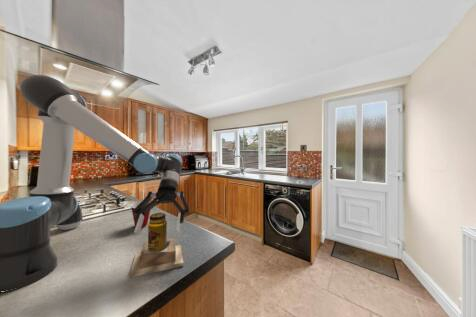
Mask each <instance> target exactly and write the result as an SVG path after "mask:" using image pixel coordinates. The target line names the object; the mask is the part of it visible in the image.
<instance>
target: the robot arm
mask: <svg viewBox="0 0 476 317" xmlns="http://www.w3.org/2000/svg"><path fill="white" fill-rule="evenodd" d="M19 92H20V94H21V97H22V98H23V99H24V101H26V102H27V103H28V104H29V105H31V106H33V107H34V108H36V109H37V110H38V112H37V118H38V119H39V120H40V121H41V122H42V133H41V144H40V151H39V152H40V154H39V162H38V170H37V171H38V172H37V181H36V182H37V183H36V187H34V188H33V189H31V190H30V191H29V195H28V196H26V197H20V198H16V199H10V200H7V201H4V202H1V203H0V292H1V291H6V290H10V291H12V290H11V289H14V290H16V289H15V288H17V289H20V288H22V286H23V287H25V286H27V285H30V284H32V283H34V282H37V281H39V280H42V278H44V277H46V276H48V275H49V274H51V273H52V272H53V271H54V270H55V269H56V268H57V266H58V257H57V255H56V253H55V251H54V249H53V247H52V246H51V243H50V242H51V229H52V228H54V227H56V225H57V224H59V223H61V222H63V221H65V220H67V219H68V218H69V217H70V216H71V215H73V213H74V212H75V211H76V209H77V206H78V204H79V203H78V202H79V200H78V199H77V197H76V196H74V195H75V189H74V187H71V185H70V184H71V173H72V164H73V163H72V162H73V153H74V143H75V134H76V133H75V132H76V130H77V131H78V132H80V133H82V134H83V135H85V136H86V137H88V138H89V139H91V140H92V141H94V142H96V143H97V144H98V145H100V146H102V147H104V148H105V149H106V150H108V151H110V152H111V153H113V154H114V155H115V156H117V157H119V158H120V159H122V160H123V161H124V162H127V163H128V164H129V165H130V166H133V167H134V169H135V170H136V171H137V172H138V173H141V174H150V173H153V172H156V173H160V174H162V175H161V178H160V182H159V184H158V187H157V191H156V192H152V191H151V190H150V191H148V193H147V195H146V197H144V198H143V200H142V201H140V202H141V203H140V204H139V205H138V206H137V207H136V208H135V209H134V210H133V213H134V214H135V215H137V217H136V220H135V224H136V227H135V228H134V230H133V231H134V234H135V235H136V236H139V235H140V232H141V230H142V228H143V227H142V223H143V220H144V216H143V215H145V214H146V213H147V212H148V211H150V212H151V210H152V209H154V207H156V206H158V205H160V204H168V205H169V204H170V203H171V204H172V205H173V206H174V207H175V209H176V210H177V211H178V215H177V221H176V226H175V232H176V234H180V229H181V224H184V221H185V220H184V219H185V215H189V214H190V212H191V211H190V207H189V206H188V204H187V201H186V198H185V194H184V191H183V190H181V191H180V192H177V191H178V188H179V182H180V177H181V172H182V168H183V158H182V157H181V156H180V155H178V154H175V153H173V154H169V155H168V156H167V157H166V156H161V155H157V154H153V153H151V152H149V150H147V149H146V148H144V147H142V146H141V145H140V144H138V143H137V142H136V141H134V140H132V139H131V138H130V137H128V136H127V135H125V134H124V133H123V132H121V130H118V129H117V128H116V127H114V126H113V125H111V124H110V123H109V122H107V121H106V120H104V119H103V118H101V116H98V115H97V114H96V113H95V112H93V111H91V110H90V109H88V106H87V105H88V104H87V102H86V101H85V99H84V98H83V97H82V96H81V95H80V94H79V93H78V92H77V91H75V90H73V89H71V88H70V87H69V86H67V85H66V84H65V83H63V82H62V81H60V80H59V79H57V78H54V77H51V76H49V75H44V74H35V75H34V74H33V75H30V76H28V77H25V78H24V79H23V80H22V81H21V83H20V84H19ZM177 197H178V199H180V200H181V203H182V206H183V207H184V209H183V207H182V206H181V205H180V204H179V202H178V201H177V200H176V198H177ZM152 199H153V200H152ZM149 202H150V203H149ZM148 203H149V204H148ZM133 213H132V214H133ZM135 224H134V225H135ZM19 287H20V288H19Z"/></svg>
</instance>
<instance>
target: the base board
mask: <svg viewBox="0 0 476 317" xmlns="http://www.w3.org/2000/svg"><path fill="white" fill-rule="evenodd" d="M167 240H171V242H170V244H169V247H168V249H167V251H166V252H159V253H144V252H145V251H146V249H147V248H148V241H147V242H143V244H142V248H141V251H136V253H135V256H134V259H133V263H132V265H131V267H130V271H129V278H135V277H139V276H143V275H144V276H145V275H147V274H148V275H149V274H153V273H158V272H163V271H166V270H170V269H171V270H173V269H175V268H179V267H184V259H183V258H184V257H183V252H182V245H181V244H177V245H176V241H175V240H176V238H175V237H174V238H167Z"/></svg>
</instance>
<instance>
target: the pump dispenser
mask: <svg viewBox="0 0 476 317" xmlns="http://www.w3.org/2000/svg"><path fill="white" fill-rule="evenodd" d="M83 218H84V216H83V211H82V208H81V206H80V204H79V203H78V206H77V209H76V211H75V212H74V213H73V215H71V216H70V217H69V218H68V219H67V220H65V221H63V222H61V223H59V224H57V225H56V226H55V227H56V229H57V230H59V231H70V230H73V229H76V228H77V227H79V226H80V225H81V222H82V220H83Z"/></svg>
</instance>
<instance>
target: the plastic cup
mask: <svg viewBox="0 0 476 317" xmlns="http://www.w3.org/2000/svg"><path fill="white" fill-rule="evenodd" d="M141 202H142V201H137V202H133V203H131V204H130V205H129V207H130V208H131V212H132V219H133V222H134V227H135V228H136V224H135V220H136V217H137V215H135V214H134V213H133V210H134V209H135V208H136V207H137V206H138V205H139V204H140V203H141ZM150 202H151V201H150ZM150 202H149V203H150ZM149 203H148V204H149ZM150 212H151V210H150V211H148V212H147V213H146V214H145V215H143V216H144V220H143V223H142V227H141V228H145V227H147V226H148V224H149V222H148V221H149V220H150V215H151V213H150ZM146 225H147V226H146ZM144 226H145V227H144Z"/></svg>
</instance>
